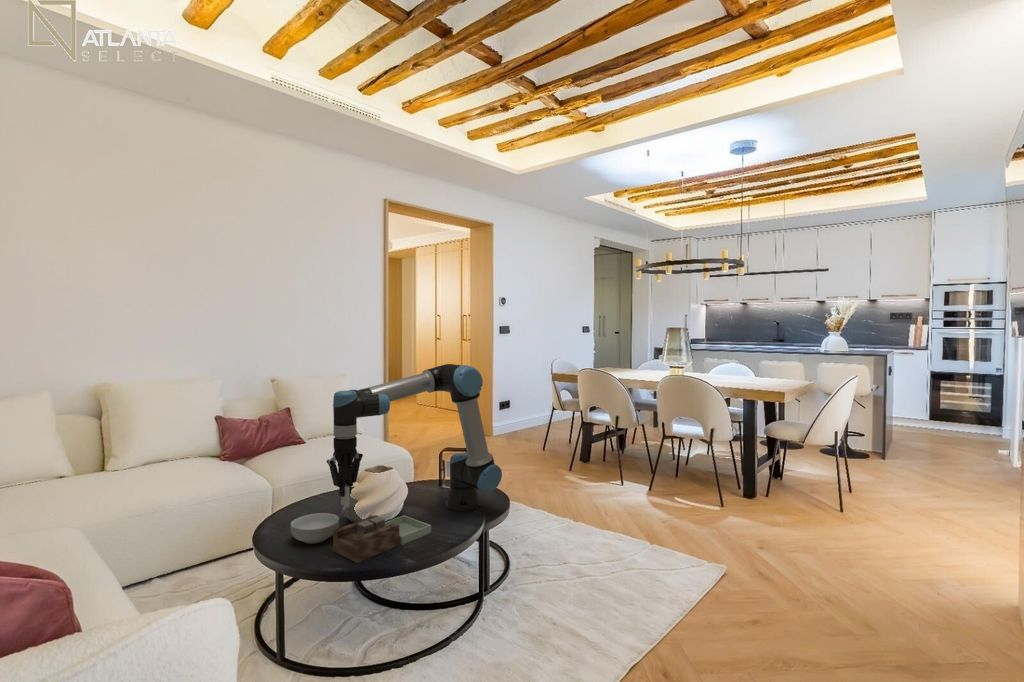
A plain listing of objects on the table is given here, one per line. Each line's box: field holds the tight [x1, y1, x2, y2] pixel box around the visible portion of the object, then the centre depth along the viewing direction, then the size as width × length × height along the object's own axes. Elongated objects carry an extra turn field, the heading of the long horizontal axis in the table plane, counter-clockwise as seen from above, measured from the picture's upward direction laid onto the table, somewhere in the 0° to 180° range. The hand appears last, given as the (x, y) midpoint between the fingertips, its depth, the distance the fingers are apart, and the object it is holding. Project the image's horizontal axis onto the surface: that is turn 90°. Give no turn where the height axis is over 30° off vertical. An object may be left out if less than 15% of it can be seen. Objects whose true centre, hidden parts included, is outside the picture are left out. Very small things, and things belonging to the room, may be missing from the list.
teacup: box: [341, 496, 362, 523], centre depth 209 cm, size 14×11×8 cm
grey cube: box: [369, 516, 386, 531], centre depth 188 cm, size 4×4×4 cm
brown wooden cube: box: [357, 521, 374, 536], centre depth 184 cm, size 4×4×4 cm
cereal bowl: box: [290, 512, 340, 545], centre depth 191 cm, size 17×17×7 cm
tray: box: [385, 514, 432, 546], centre depth 197 cm, size 14×16×3 cm
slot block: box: [332, 515, 401, 564], centre depth 184 cm, size 18×14×8 cm
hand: (345, 504), depth 177 cm, fingers closed
